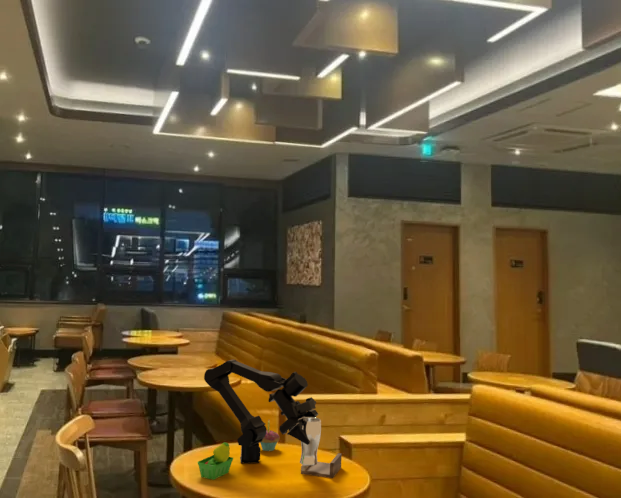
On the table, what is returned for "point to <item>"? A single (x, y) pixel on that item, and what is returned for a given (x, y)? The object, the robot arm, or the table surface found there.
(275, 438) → the cupcake
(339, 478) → the table surface
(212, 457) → the fruit basket
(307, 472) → the grey bracket
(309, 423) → the beer glass
